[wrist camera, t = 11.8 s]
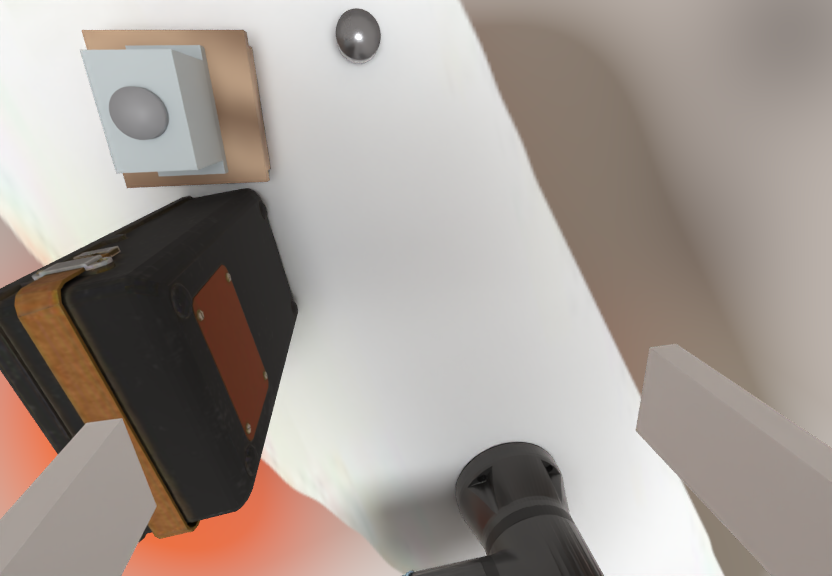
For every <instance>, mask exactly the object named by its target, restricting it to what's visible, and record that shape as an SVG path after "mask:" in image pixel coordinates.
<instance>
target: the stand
mask: <svg viewBox="0 0 832 576" xmlns="http://www.w3.org/2000/svg"><path fill="white" fill-rule="evenodd" d="M82 33H83V37H84V40H85V44H86V47H87V50H126V47H125V46H137V45H201V46H203V47H204V48H205V54H206V59H207V64H208V69H209V74H210V79H211V84H212V90H213V95H214V100H215V105H216V110H217V115H218V120H219V126H220V131H221V136H222V141H223V146H224V151H225V156H226V162H227V167H228V172H227V173H225V174H204V175H181V176H159V175H158V172H136V173H123V176H124V179H125V183H126V186H127V188H136V187H159V186H181V185H203V184H225V183H247V182H268V181H269V180H270V179H269V173H268V170H269V169H271V168H270V161H269V155H268V148H267V142H266V135H265V129H264V122H263V116H262V109H261V103H260V96H259V90H258V83H257V77H256V70H255V64H254V57H253V51H252V47H250V46H249V45H248V38H247V32H245V31H244V30H82Z"/></svg>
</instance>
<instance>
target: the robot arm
mask: <svg viewBox="0 0 832 576" xmlns="http://www.w3.org/2000/svg"><path fill="white" fill-rule="evenodd" d="M636 431H637V433H638V434H639V435H640V436H641V437H642V438H643V439H644V440H645V441H646V442H647V443H648V444H649V445H650V446H651V448H652V449H653V450H654V451H655V452H656V453H657V454H658V455H659V456H660V457H661V458H662V459H663V460H664V461H665V462H666V464H667V465H668V466H669V467H670V468H671V469H672V470H673V471H674V472H675V473H676V474H677V475H678V476H679V477H680V479H681V480H682V481H683V482H684V483H685V484H686V485H687V486H688V487H689V488H690V489H691V490H692V491H693V492H694V493H695V495H696V496H697V497H698V498H699V499H700V500H701V501H702V502H703V503H704V504H705V505H706V506H707V507H708V508H709V509H710V511H712V513H713V514H714V515H715V516H716V517H717V518H718V519H719V520H720V521H721V522H722V523H723V524H724V526H725V527H726V528H727V529H728V530H729V531H730V532H731V533H732V534H733V535H734V536H735V537H736V538H737V539H738V541H739V542H740V543H741V544H742V545H743V546H744V547H745V548H746V549H747V550H748V551H749V552H750V553H751V554H752V555H753V557H754V558H755V559H756V560H757V561H758V562H760V564H761V565H762V566H763V567H764V568H765V569H766V570H767V571H768V573H769V574H770V575H771V576H832V448H831V447H830V446H828V445H827V444H825V443H823V442H822V441H821V440H819V439H818V438H816V437H815V436H813V435H812V434H810V433H809V432H807V431H806V430H804V429H803V428H801V427H800V426H798V425H797V424H795V423H794V422H792V421H791V420H789V419H788V418H786V417H784V416H783V415H782V414H780V413H779V412H777V411H776V410H774V409H773V408H771V407H770V406H768V405H767V404H765V403H764V402H762V401H761V400H759V399H758V398H756V397H755V396H753V395H752V394H750V393H749V392H747V391H746V390H744V389H743V388H741V387H740V386H738V385H737V384H735V383H734V382H732V381H731V380H729V379H728V378H726V377H725V376H723V375H722V374H720V373H719V372H717V371H716V370H714V369H713V368H711V367H710V366H709V365H707V364H706V363H704V362H702V361H701V360H699V359H698V358H697V357H695V356H693V355H692V354H690V353H689V352H688V351H686V350H685V349H683V348H682V347H680V346H679V345H677V344H672V345H664V346H656V347H650V349H649V355H648V361H647V367H646V372H645V379H644V384H643V390H642V396H641V402H640V408H639V414H638V420H637V426H636ZM456 499H457V503H458V506H459V510H460V513H461V515H462V517H463V519H464V521H465V522H466V523H467V525H468V526H469V528H470V529H471V530H472V532H473V533H474V535H475V536H476V537H477V539H478V540H479V541H480V543H481V544H482V546H483V547H484V549H485V551H486V554H487V556H484V557H480V558H474V559H470V560H465V561H461V562H456V563H452V564H448V565H443V566H439V567H434V568H430V569H425V570H421V571H416V572H414V571H409V572H407V573H406V574H405V575H402V576H604V575H603V573H602V571H601V569H600V568H599V566H598V564H597V562H596V561H595V559H594V557H593V555H592V553H591V552H590V550H589V548H588V546H587V545H586V543H585V541H584V539H583V537H582V536H581V534H580V532H579V530H578V529H577V527H576V525H575V523H574V522H573V520H572V518H571V516H570V514H569V509H568V504H567V498H566V493H565V488H564V483H563V478H562V475H561V472H560V470H559V468H558V466H557V465H556V463H555V461H554V460H553V458H552V457H551V455H550V454H549V453H548V452H547V451H545V450H544V449H542V448H540V447H538V446H536V445H533V444H528V443H509V444H503V445H500V446H496V447H494V448H491V449H489V450H487V451H485V452H483V453H481V454H480V455H478V456H477V457H476V458H474V459H473V460H472V461H471V462H470V463H469V464H468V465H467V466H466V467H465V468H464V470H463V471H462V473H461V474H460V476H459V478H458V481H457V484H456ZM156 507H157V505H156V503H155V500H154V498H153V495H152V493H151V490H150V488H149V485H148V483H147V480H146V477H145V475H144V472H143V470H142V467H141V465H140V462H139V460H138V457H137V455H136V452H135V449H134V447H133V444H132V442H131V439H130V437H129V434H128V432H127V429H126V427H125V424H124V421H123V419H122V418H119V419H112V420H104V421H97V422H90V423H86V424H85V425H84V426H83V427H82V428H81V430H80V431H79V432H78V433H77V434H76V435H75V436H74V437H73V439H72V440H71V441H70V442H69V443H68V444H67V445H66V446H65V447H64V449H63V450H62V451H61V452H60V453H59V454H58V455H57V457H56V458H55V459H54V460H53V461H52V462H51V463H50V464H49V466H48V467H47V468H46V469H45V470H44V471H43V472H42V473H41V475H40V476H39V477H38V478H37V479H36V480H35V481H34V482H33V484H32V485H31V486H30V487H29V488H28V489H27V490H26V491H25V493H24V494H23V495H22V496H21V497H20V498H19V499H18V500H17V502H16V503H15V504H14V505H13V506H12V507H11V508H10V509H9V511H8V512H7V513H6V514H5V515H4V516H3V517H2V518H1V519H0V576H121V575H122V573H123V571H124V569H125V567H126V565H127V563H128V562H129V560H130V558H131V556H132V554H133V552H134V550H135V548H136V546H137V544H138V542H139V540H140V538H141V536H142V534H143V532H144V530H145V528H146V526H147V524H148V522H149V520H150V518H151V516H152V515H153V513H154V511H155V509H156Z"/></svg>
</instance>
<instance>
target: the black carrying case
mask: <svg viewBox="0 0 832 576" xmlns="http://www.w3.org/2000/svg"><path fill="white" fill-rule="evenodd" d="M297 314H298V309H297V305H296V303H295V302H294V301H293V297H292V294H291V291H290V288H289V285H288V282H287V278H286V275H285V272H284V269H283V266H282V262H281V259H280V256H279V253H278V250H277V247H276V243H275V240H274V237H273V234H272V231H271V228H270V224H269V221H268V218H267V210H266V207H265V205H264V203H263V202H262V200H261V199H260V197H259V195H258V194H257V193H256V192H255V191H253V190H251V189H240V190H235V191H230V192H225V193H220V194H214V195H209V196H204V197H199V198H194V199H192V197H190V196H187V197H182V198H180V199H178V200H176V201H174V202H172V203H170V204H168V205H166V206H164V207H162V208H160V209H158V210H156V211H154V212H152V213H150V214H148V215H146V216H144V217H142V218H140V219H138V220H136V221H134V222H132V223H130V224H128V225H126V226H124V227H122V228H120V229H118V230H116V231H114V232H112V233H110V234H108V235H106V236H104V237H102V238H100V239H98V240H96V241H94V242H92V243H90V244H88V245H86V246H84V247H82V248H80V249H78V250H76V251H74V252H72V253H70V254H68V255H66V256H64V257H62V258H60V259H58V260H56V261H54V262H52V263H50V264H48V265H46V266H44V267H42V268H40V269H38V270H37V271H34V272H32V273H31V274H28V275H26V276H24V277H22V278H20V279H19V280H17V281H15V282H13V283H11V284H8V285H6V286H5V287H3V288H1V289H0V370H1V372H2V373H3V374H4V376H5V378H6V379H7V380H8V382H9V384H10V385H11V386H12V388H13V389H14V391H15V392H16V394H17V395H18V396H19V398H20V400H21V401H22V402H23V404H24V405H25V407H26V408H27V410H28V411H29V413H30V414H31V416H32V417H33V418H34V420H35V421H36V423H37V424H38V426H39V427H40V429H41V430H42V432H43V433H44V435H45V436H46V437H47V439H48V440H49V442H50V443H51V445H52V446H53V448H54V449H55V451H56V452H57V454H59V453H60V452H61V451H62V450H63V449H64V447H65V446H66V445H67V444H68V443H69V442H70V441H71V440H72V439H73V437H74V436H75V435H76V434H77V433H78V432H79V431H80V430H81V428H82V427H83V426H84V425H85V424H86V423H90V422H97V421H104V420H112V419H119V418H122V419H123V421H124V424H125V427H126V429H127V432H128V434H129V437H130V439H131V442H132V444H133V447H134V449H135V452H136V455H137V457H138V460H139V462H140V465H141V467H142V470H143V472H144V475H145V477H146V480H147V483H148V485H149V488H150V490H151V493H152V495H153V498H154V500H155V503H156V505H157V507H156V509H155V511H154V513H153V515H152V516H151V518H150V520H149V522H148V524H147V526H146V528H145V530H144V532H143V534H142V536H141V538H140V540H139V542H140V541H141V540H142V539H144V538H145V536H146V534H147V533H151V532H153V534H154V536H155V537H157V538H159V539H161V538H166V537H170V536H174V535H178V534H183V533H187V532H192V531H194V530H195V528H196V527H197V526H198V524H199V522H200V520H203V519H207V518H211V517H215V516H219V515H223V514H227V513H231V512H235V511H237V510H239V509H240V508H241V507H242V506H243V505H244V504H245V502H246V501H247V500H248V498H249V496H250V494H251V492H252V489H253V486H254V482H255V478H256V474H257V470H258V466H259V462H260V458H261V454H262V450H263V447H264V443H265V439H266V435H267V431H268V427H269V423H270V419H271V415H272V411H273V407H274V404H275V400H276V396H277V392H278V388H279V384H280V380H281V376H282V372H283V368H284V365H285V361H286V357H287V353H288V349H289V345H290V341H291V337H292V333H293V329H294V325H295V322H296V318H297Z"/></svg>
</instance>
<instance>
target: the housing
mask: <svg viewBox="0 0 832 576" xmlns="http://www.w3.org/2000/svg"><path fill="white" fill-rule="evenodd" d="M125 47H126V50H80V52H81V56H82V59H83V62H84V66H85V69H86V72H87V76H88V79H89V83H90V86H91V89H92V93H93V96H94V99H95V103H96V106H97V110H98V113H99V116H100V120H101V123H102V126H103V130H104V133H105V137H106V140H107V143H108V147H109V150H110V153H111V157H112V160H113V164H114V167H115V170H116V173H136V172H158V175H159V176H181V175H204V174H225V173H227V172H228V167H227V162H226V156H225V151H224V146H223V141H222V136H221V131H220V126H219V120H218V115H217V110H216V105H215V100H214V95H213V90H212V84H211V79H210V74H209V69H208V64H207V59H206V54H205V48H204V47H203V46H201V45H137V46H125Z"/></svg>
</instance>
